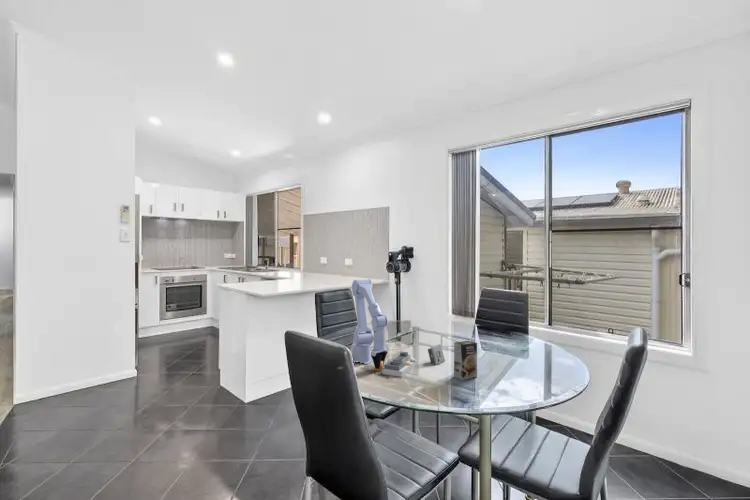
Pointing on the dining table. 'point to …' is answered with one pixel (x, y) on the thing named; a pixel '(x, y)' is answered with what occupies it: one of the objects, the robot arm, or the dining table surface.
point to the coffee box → (465, 359)
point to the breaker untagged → (404, 354)
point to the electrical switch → (436, 354)
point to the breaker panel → (399, 366)
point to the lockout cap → (380, 366)
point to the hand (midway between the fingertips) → (379, 367)
